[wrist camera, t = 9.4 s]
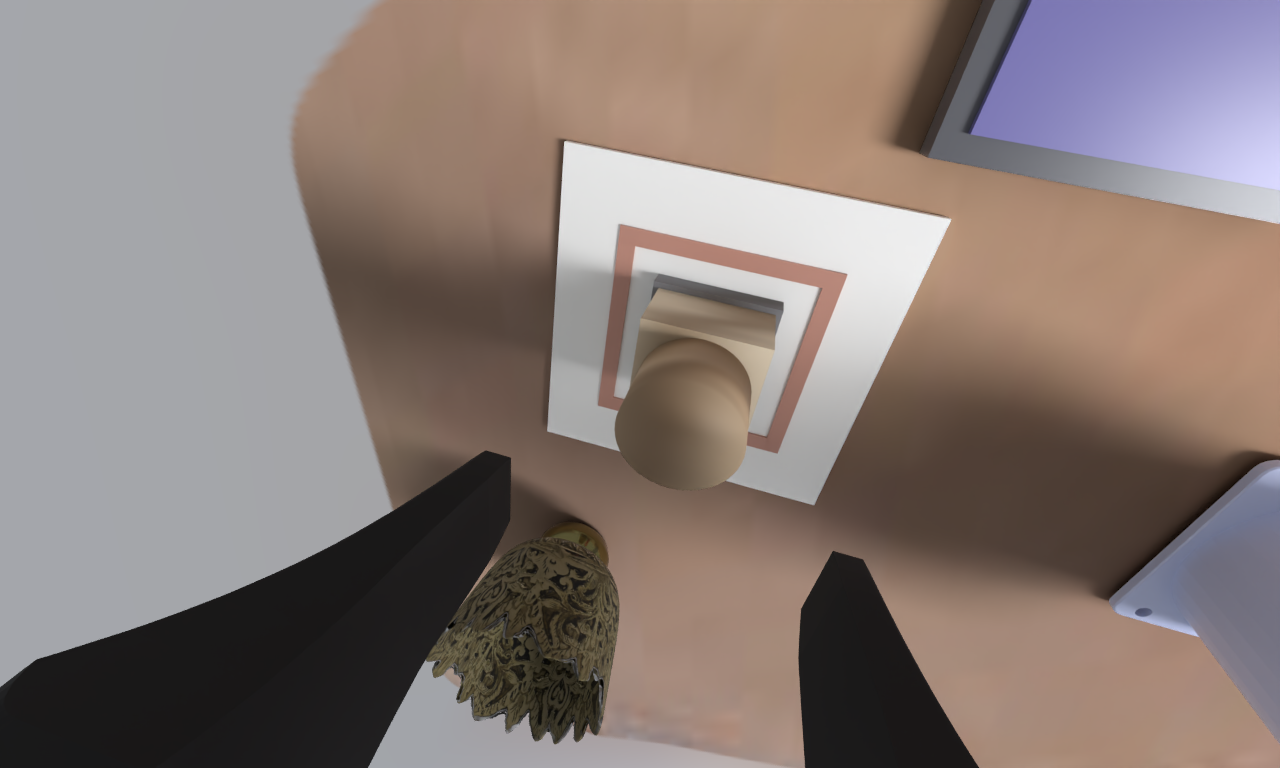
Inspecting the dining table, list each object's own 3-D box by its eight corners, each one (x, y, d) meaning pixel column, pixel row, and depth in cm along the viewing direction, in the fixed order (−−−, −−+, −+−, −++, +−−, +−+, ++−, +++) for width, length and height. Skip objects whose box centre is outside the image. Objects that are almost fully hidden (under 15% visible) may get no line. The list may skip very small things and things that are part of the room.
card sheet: (948, 217, 15) (952, 220, 15) (813, 500, 21) (814, 506, 21) (567, 140, 16) (563, 141, 16) (549, 427, 23) (546, 432, 22)
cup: (491, 492, 26) (391, 633, 19) (618, 479, 23) (554, 637, 17) (547, 589, 29) (478, 738, 23) (665, 587, 27) (626, 755, 20)
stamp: (783, 302, 17) (784, 393, 12) (749, 405, 19) (738, 518, 14) (658, 273, 18) (609, 349, 13) (640, 377, 20) (593, 476, 15)
